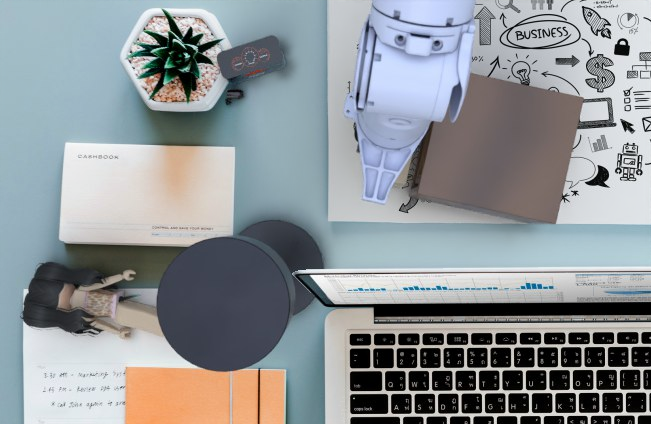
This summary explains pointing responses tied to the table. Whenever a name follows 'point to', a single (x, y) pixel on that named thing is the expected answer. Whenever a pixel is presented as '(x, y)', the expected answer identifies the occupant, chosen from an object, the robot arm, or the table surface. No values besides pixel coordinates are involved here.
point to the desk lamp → (235, 294)
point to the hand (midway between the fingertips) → (385, 132)
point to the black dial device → (249, 63)
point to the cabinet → (501, 152)
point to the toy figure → (84, 302)
